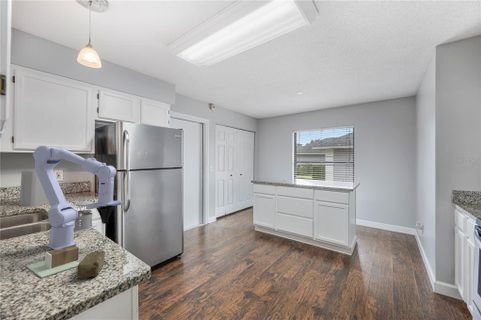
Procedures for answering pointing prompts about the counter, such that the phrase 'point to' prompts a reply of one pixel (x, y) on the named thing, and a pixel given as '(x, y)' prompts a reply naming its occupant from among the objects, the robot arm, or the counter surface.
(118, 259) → the counter surface
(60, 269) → the sage mat
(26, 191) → the tall grey box
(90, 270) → the stone block
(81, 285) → the counter surface
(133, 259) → the counter surface
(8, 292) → the counter surface
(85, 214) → the french press
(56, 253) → the walnut block
